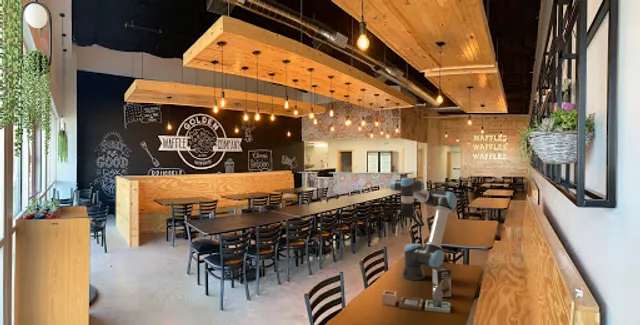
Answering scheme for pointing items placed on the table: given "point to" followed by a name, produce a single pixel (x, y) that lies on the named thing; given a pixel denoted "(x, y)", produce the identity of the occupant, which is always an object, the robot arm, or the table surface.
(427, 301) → the tray
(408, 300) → the pale grey square tile
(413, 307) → the base
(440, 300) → the cell
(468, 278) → the table surface
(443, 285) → the coffee box
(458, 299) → the table surface
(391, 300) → the pink open box
